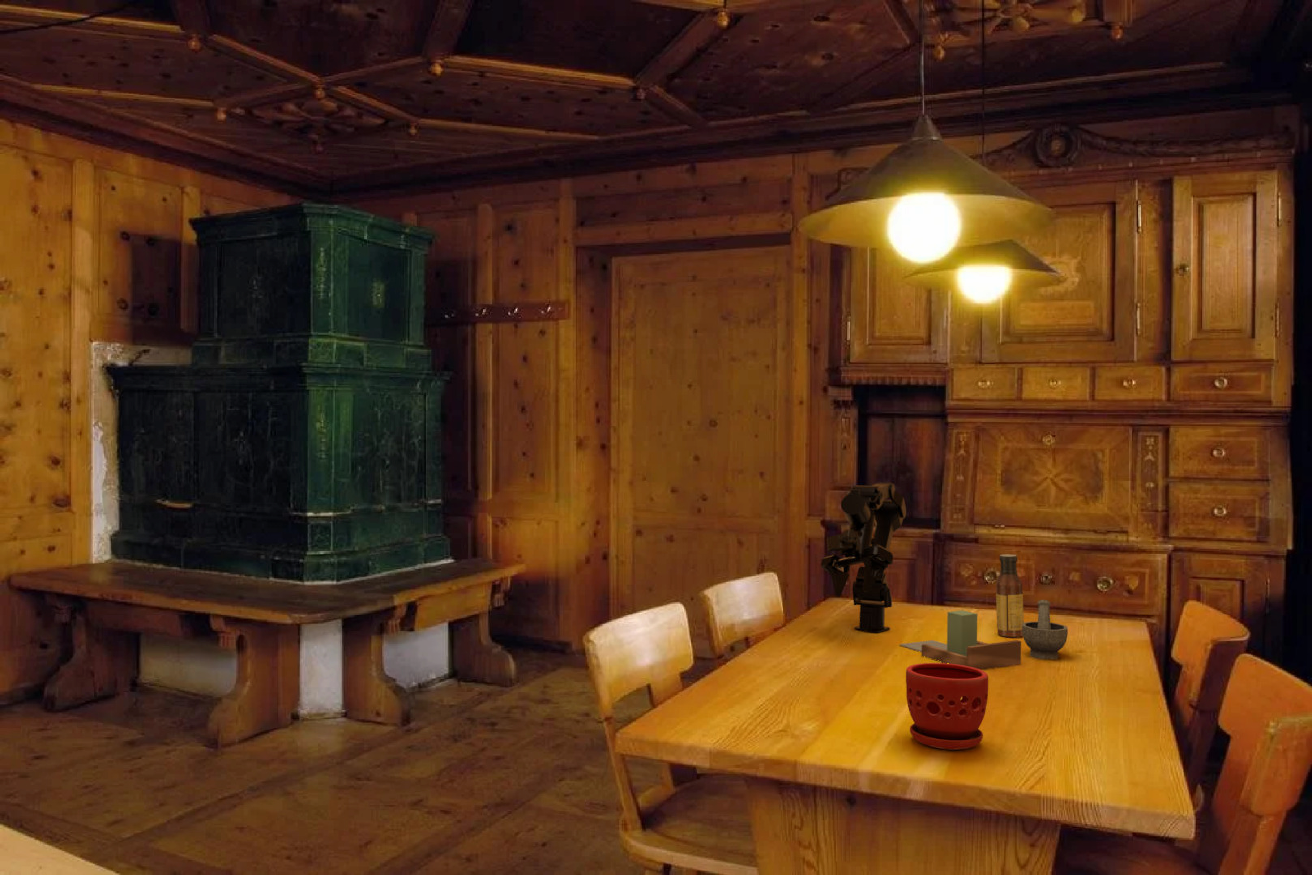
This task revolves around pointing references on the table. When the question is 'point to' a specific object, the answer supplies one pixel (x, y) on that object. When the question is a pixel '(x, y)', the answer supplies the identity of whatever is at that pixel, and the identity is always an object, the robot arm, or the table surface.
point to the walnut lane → (979, 655)
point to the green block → (961, 631)
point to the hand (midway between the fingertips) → (851, 594)
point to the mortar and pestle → (1044, 634)
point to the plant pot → (946, 704)
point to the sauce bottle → (1009, 598)
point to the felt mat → (918, 645)
